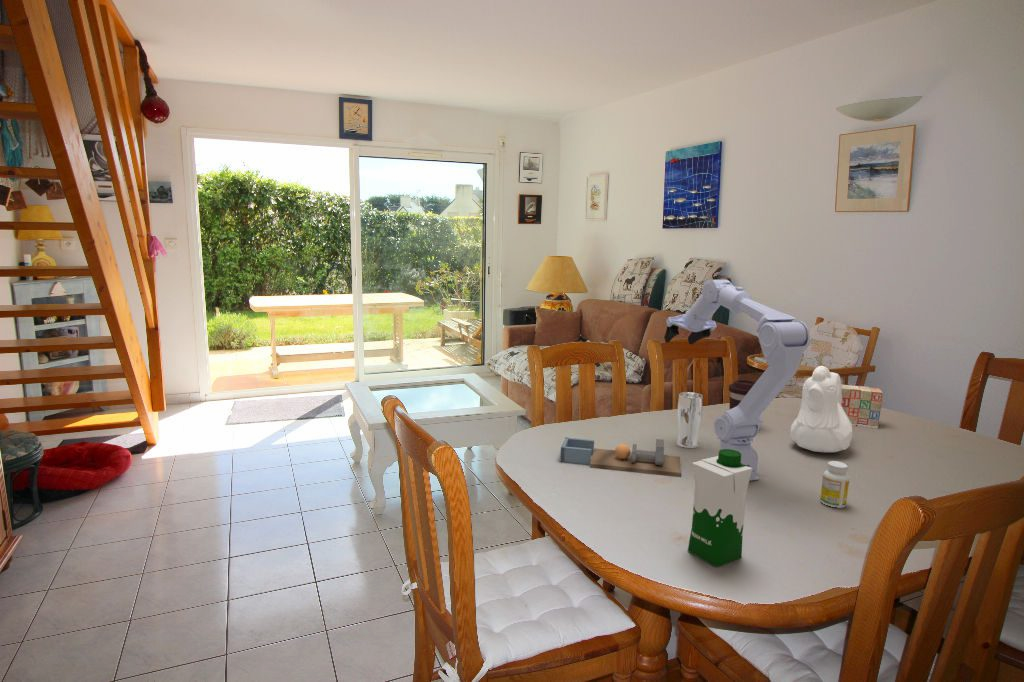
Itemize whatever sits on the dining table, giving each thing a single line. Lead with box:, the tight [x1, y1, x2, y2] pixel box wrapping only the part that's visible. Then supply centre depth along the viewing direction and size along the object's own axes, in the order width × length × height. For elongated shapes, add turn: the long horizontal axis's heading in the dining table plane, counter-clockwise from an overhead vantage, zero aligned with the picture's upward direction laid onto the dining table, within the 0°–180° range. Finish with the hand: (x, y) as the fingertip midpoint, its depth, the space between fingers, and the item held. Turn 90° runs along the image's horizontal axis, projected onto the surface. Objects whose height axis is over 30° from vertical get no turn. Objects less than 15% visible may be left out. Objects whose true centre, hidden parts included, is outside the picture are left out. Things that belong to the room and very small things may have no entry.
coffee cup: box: [728, 379, 757, 410], centre depth 195 cm, size 10×10×15 cm
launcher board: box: [589, 447, 682, 477], centre depth 163 cm, size 23×12×1 cm, turn 77°
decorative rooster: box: [789, 365, 853, 453], centre depth 177 cm, size 25×16×25 cm, turn 127°
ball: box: [615, 443, 631, 459], centre depth 164 cm, size 4×4×4 cm
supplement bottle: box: [819, 460, 850, 509], centre depth 140 cm, size 5×5×10 cm
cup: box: [559, 436, 595, 466], centre depth 167 cm, size 8×8×4 cm
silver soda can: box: [676, 391, 704, 449], centre depth 178 cm, size 7×7×15 cm
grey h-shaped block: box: [631, 438, 665, 466], centre depth 162 cm, size 8×6×5 cm
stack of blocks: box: [841, 384, 883, 427], centre depth 204 cm, size 21×6×12 cm, turn 68°
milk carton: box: [687, 449, 752, 568], centre depth 116 cm, size 9×9×20 cm
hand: (677, 340), depth 178 cm, fingers open, 7 cm apart
